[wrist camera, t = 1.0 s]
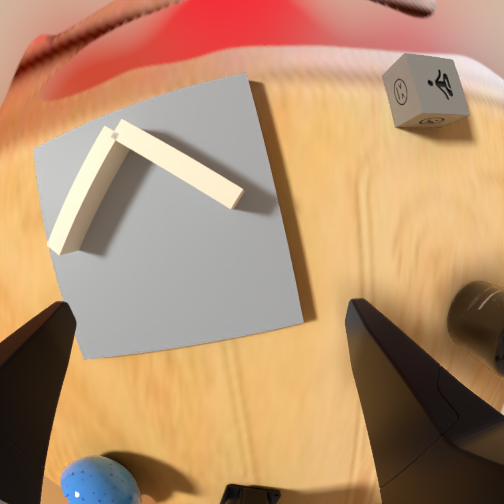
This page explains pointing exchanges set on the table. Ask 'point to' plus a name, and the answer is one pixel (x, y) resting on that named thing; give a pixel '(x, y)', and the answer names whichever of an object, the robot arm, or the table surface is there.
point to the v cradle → (168, 223)
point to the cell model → (99, 482)
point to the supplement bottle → (479, 323)
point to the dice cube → (424, 91)
